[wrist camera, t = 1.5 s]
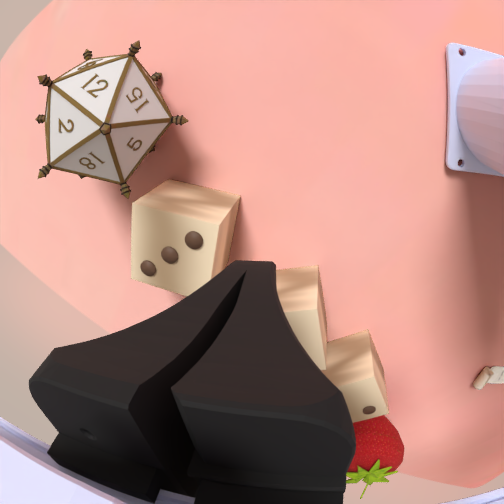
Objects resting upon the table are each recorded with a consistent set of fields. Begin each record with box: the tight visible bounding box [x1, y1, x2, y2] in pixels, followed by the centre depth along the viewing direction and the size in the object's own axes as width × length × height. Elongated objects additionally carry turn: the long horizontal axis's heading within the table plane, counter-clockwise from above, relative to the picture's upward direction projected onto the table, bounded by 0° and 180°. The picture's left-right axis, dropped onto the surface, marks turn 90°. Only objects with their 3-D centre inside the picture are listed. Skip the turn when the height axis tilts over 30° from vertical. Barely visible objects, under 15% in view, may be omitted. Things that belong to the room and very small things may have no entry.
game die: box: [35, 41, 188, 199], centre depth 16 cm, size 9×8×10 cm
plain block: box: [276, 265, 327, 370], centre depth 21 cm, size 5×5×5 cm
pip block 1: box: [131, 179, 241, 296], centre depth 20 cm, size 5×5×5 cm
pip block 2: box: [321, 329, 389, 423], centre depth 23 cm, size 5×5×5 cm
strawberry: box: [346, 415, 404, 499], centre depth 23 cm, size 6×8×10 cm
